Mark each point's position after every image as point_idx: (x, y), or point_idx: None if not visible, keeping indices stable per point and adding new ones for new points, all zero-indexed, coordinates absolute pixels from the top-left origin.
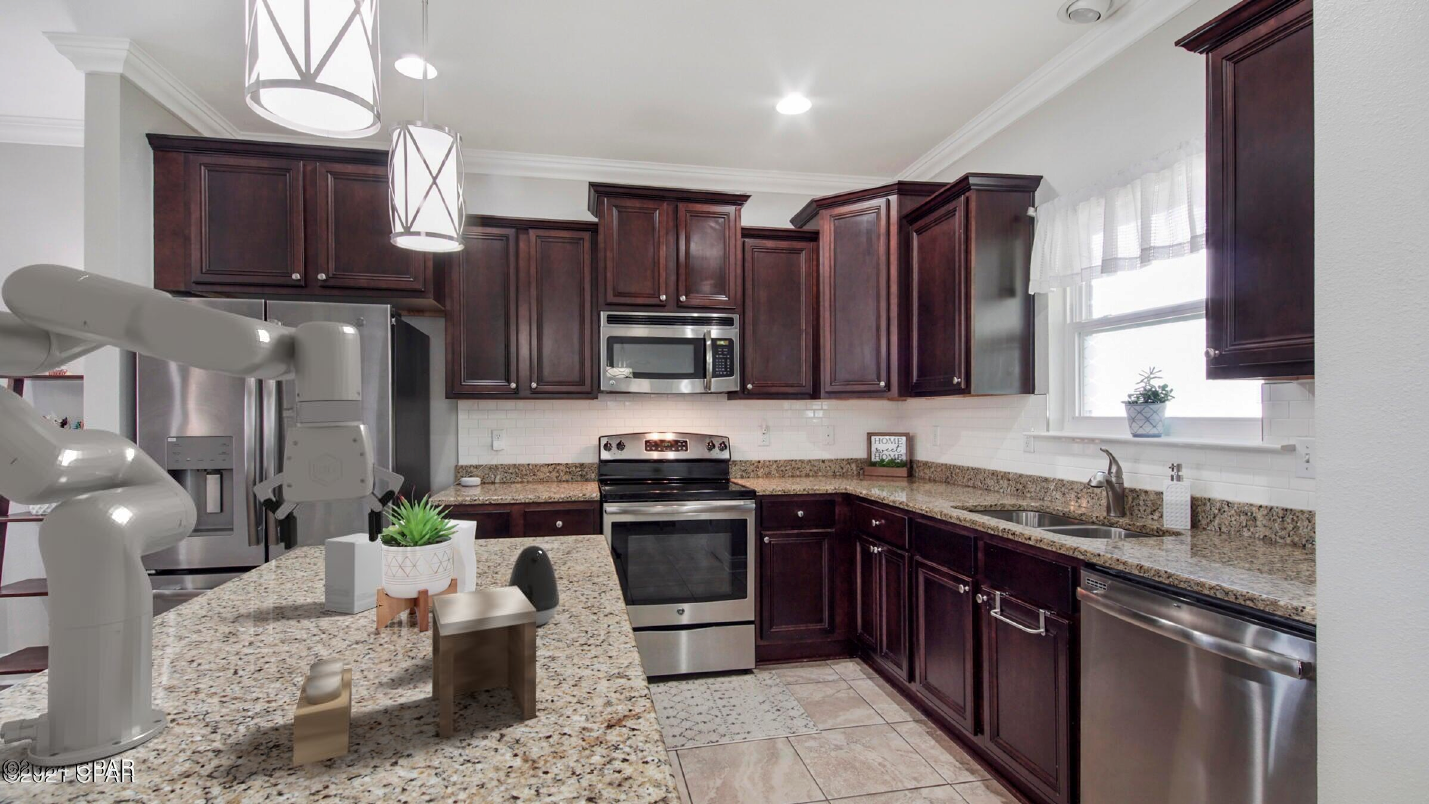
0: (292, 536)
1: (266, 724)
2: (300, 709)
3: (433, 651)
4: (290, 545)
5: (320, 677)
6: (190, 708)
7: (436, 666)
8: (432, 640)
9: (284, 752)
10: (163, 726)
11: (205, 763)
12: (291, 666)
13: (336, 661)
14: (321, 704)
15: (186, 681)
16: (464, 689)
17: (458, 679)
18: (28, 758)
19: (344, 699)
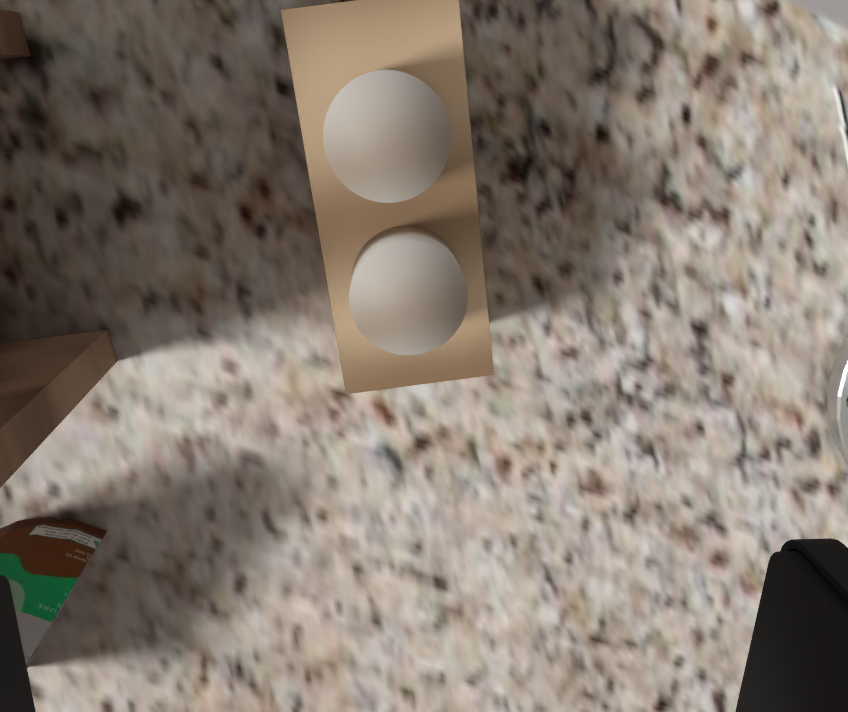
0: (829, 683)
1: (573, 328)
2: (447, 46)
3: (38, 393)
4: (796, 562)
5: (401, 144)
6: (787, 505)
7: (52, 370)
8: (36, 441)
9: (487, 113)
10: (832, 385)
11: (682, 127)
12: (583, 704)
13: (376, 310)
14: (381, 66)
15: None
16: (1, 346)
17: (3, 358)
18: None
19: (307, 81)
